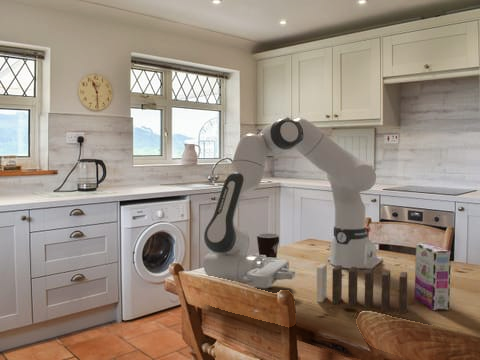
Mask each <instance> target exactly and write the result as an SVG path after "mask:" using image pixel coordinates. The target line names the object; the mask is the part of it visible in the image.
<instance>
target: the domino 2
mask: <svg viewBox="0 0 480 360" xmlns="http://www.w3.org/2000/svg"><path fill="white" fill-rule="evenodd" d="M358 270H359V268H358V267H351V268H349V270H348V282H347V283H348V287H347V288H348V292H347V293H348V294H347V295H348V296H347V300H348V303H347V306H348V307H353V308H355V306H356V305H357V302H358V275H359V274H358V273H359V272H358Z"/></svg>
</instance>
